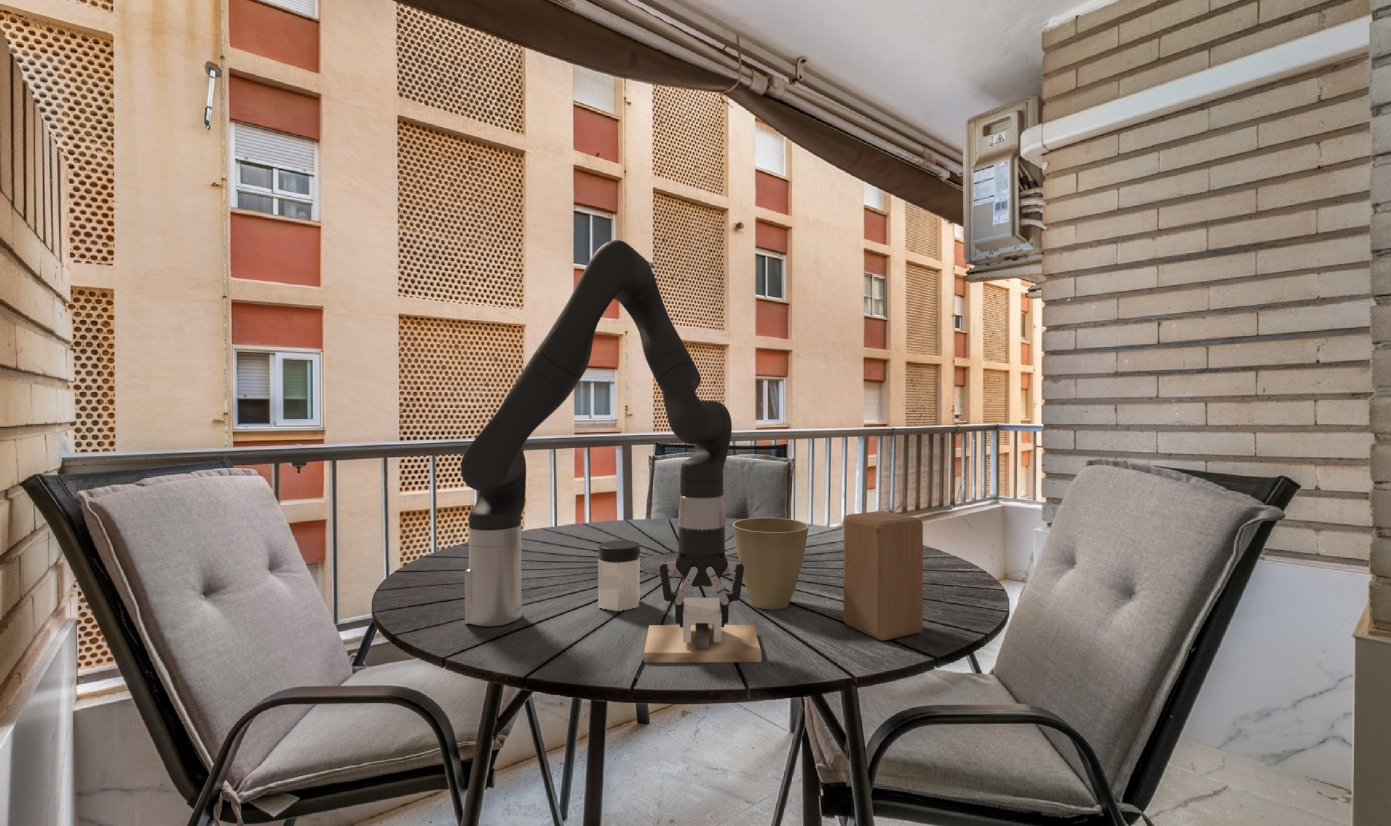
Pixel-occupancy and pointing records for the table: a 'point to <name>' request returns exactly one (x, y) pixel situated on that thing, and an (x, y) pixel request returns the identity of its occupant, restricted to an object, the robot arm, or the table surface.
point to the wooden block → (883, 574)
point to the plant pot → (770, 558)
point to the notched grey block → (702, 616)
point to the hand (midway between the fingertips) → (701, 625)
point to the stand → (702, 644)
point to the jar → (619, 575)
